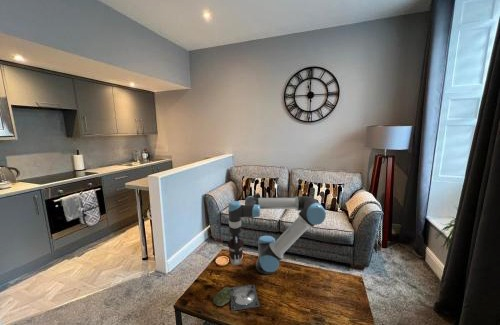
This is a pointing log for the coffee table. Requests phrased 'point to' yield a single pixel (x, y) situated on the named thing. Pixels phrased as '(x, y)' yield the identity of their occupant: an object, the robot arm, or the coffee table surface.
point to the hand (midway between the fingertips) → (236, 258)
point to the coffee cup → (232, 251)
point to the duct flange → (243, 297)
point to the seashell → (222, 297)
